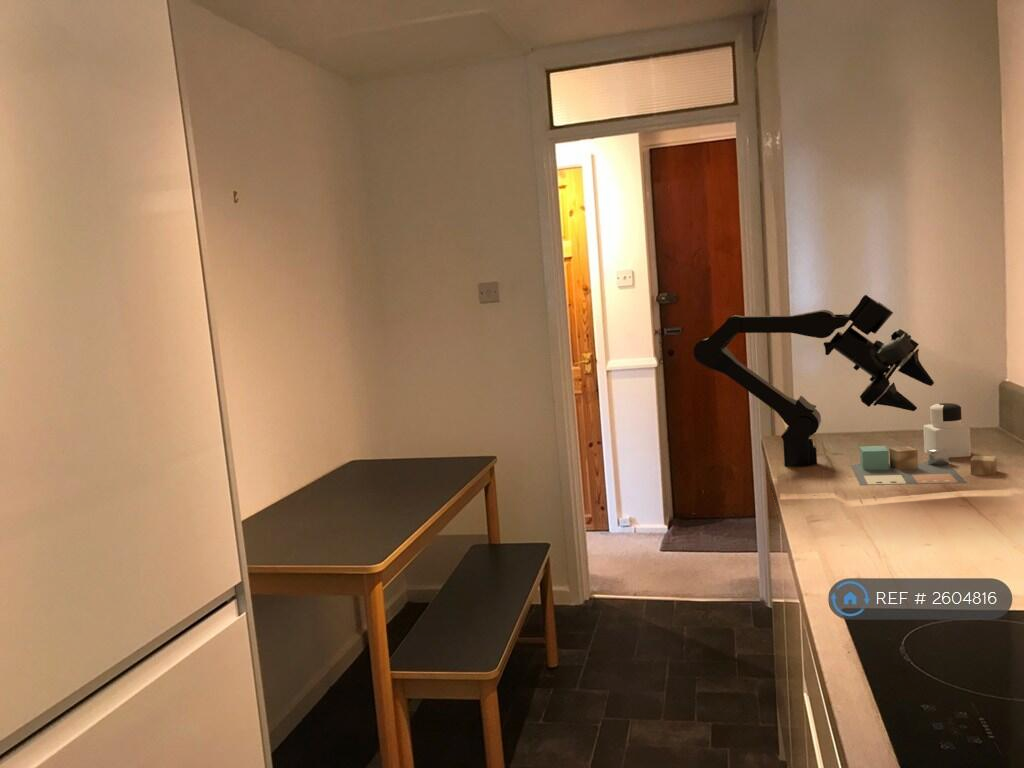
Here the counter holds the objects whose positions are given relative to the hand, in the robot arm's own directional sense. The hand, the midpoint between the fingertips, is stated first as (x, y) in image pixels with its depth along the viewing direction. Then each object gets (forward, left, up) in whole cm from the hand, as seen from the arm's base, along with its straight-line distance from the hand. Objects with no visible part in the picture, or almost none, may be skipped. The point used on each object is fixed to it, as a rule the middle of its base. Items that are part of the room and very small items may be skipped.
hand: (924, 396), depth 174 cm
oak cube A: (-5, -2, -14) cm, 15 cm away
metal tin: (+2, 0, -14) cm, 14 cm away
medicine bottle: (+6, +10, -16) cm, 19 cm away
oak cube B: (+7, -8, -13) cm, 17 cm away
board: (-5, -7, -15) cm, 18 cm away
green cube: (-10, -1, -14) cm, 18 cm away
